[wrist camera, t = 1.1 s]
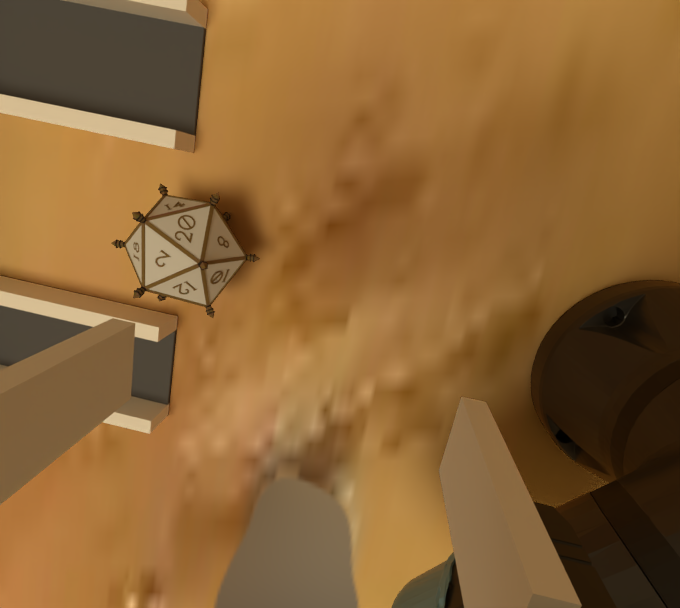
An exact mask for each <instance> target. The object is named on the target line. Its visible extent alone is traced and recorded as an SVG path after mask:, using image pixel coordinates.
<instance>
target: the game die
mask: <svg viewBox="0 0 680 608" xmlns="http://www.w3.org/2000/svg"><path fill="white" fill-rule="evenodd" d="M166 188H167V187H165V186H163V185H162V184H161V183H160V187H159V189H158V190H159V191H160V193H161V194H162V195H163V196H162V198H161V199H160V200H159V201H158V202H157V203H156V204H155V206H154V207H153V208H152V209H151V210H150V211H149V212H148V213H147V215H146V216H145V217H144V216H143V214H141V213H140V212H132V214H133V219H134V220H136V221H138V222H140V223H139V224H138V226H137V227H136V228H135V229H134V231H133V232H132V233H131V235H130V236H129V237H128V239H127V240H126V241H125V242H123V241H121V240H120V241H119V240H116V241H114V242H112V244H113V245H114V246H116V248H118V247H120V248H121V247H125V248H126V251H127V253H128V256H129V258H130V260H131V263H132V265H133V267H134V270H135V272H136V275H137V277H138V279H139V282H140V284H141V286H142V287H141V288H137V290H136V291H135V290H134V296H133V298H138V297H139V298H140V297H141V296H142V295H143V294H144V292H145V291H148V292H151V293H155V294H159V296H158V299H159V301H162V300H165V298H166V297H170V298H174V299H178V300H181V301H185V302H189V303H193V304H197V305H200V306H204V307H206V312H207V315H209V316H210V317H212V318H213V317H214V312H215V311H213V308H212V307H211V304H212V303H213V302H214V300H215V299H216V298H217V297H218V295H219V294H220V293H221V291H222V290H223V289H224V288H225V286H226V285H227V284H228V283H229V281H230V280H231V279H232V277H233V276H234V275H235V274H236V272H237V271H238V270H239V269H240V267H241V266H242V265H243V263H244V262H245V261H246V260H250V261H253V262H254V261H256V260H258V259H259V258H258V257H257V256H256V255H255V254H254V255H251V254H250V255H247V254H246V253H245V251H244V250H243V248H242V246H241V245H240V243H239V241H238V240H237V238H236V237H235V235H234V233H233V232H232V230H231V228H230V227H229V225H228V224H227V222H226V220H228V219H230V213H227V212H226V213H225V214H224V215H222V214H221V213H220V211H219V210H218V209H217V207H216V206H215V204H217V203H218V201H219V199H220V198H219V193H216V194H214V195H211V196H212V197H211V198H210V199H211V201H210V202H205V201H199V200H193V199H188V198H182V197H176V196H170V195H168V194H167V192H168V190H167V189H166Z"/></svg>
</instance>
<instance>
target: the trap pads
mask: <svg viewBox="0 0 680 608" xmlns="http://www.w3.org/2000/svg"><path fill="white" fill-rule="evenodd" d="M205 33H206V29H205V28H204V27H198V26H193V25H188V24H183V23H178V22H172V21H167V20H162V19H157V18H152V17H146V16H141V15H136V14H131V13H126V12H120V11H115V10H110V9H105V8H100V7H94V6H89V5H84V4H79V3H74V2H69V1H63V0H0V94H3V95H8V96H13V97H17V98H22V99H27V100H32V101H37V102H42V103H47V104H51V105H56V106H61V107H66V108H71V109H76V110H80V111H85V112H90V113H95V114H100V115H105V116H110V117H114V118H119V119H124V120H129V121H134V122H139V123H144V124H148V125H153V126H158V127H163V128H168V129H173V130H177V131H180V132H184V133H187V134H191V135H194V136H196V125H197V115H198V105H199V95H200V84H201V74H202V64H203V54H204V43H205ZM91 328H93V327H91V326H87V325H83V324H78V323H74V322H70V321H66V320H61V319H57V318H53V317H48V316H44V315H40V314H36V313H31V312H27V311H23V310H18V309H14V308H10V307H6V306H1V305H0V365H4V366H8V367H9V366H11V365H13V364H15V363H17V362H19V361H22V360H24V359H26V358H28V357H30V356H32V355H35V354H37V353H39V352H41V351H43V350H45V349H47V348H50V347H52V346H54V345H56V344H58V343H60V342H63V341H65V340H67V339H69V338H71V337H73V336H75V335H78V334H80V333H82V332H84V331H86V330H88V329H91ZM175 340H176V330H175V331H174V332H172V333H171V334H169V335H168V336H166V337H165V338H163V339H162V340H160V341H159V342H155V341H151V340H147V339H143V338H138V337H135V338H134V354H133V371H132V387H131V396H133V397H137V398H141V399H145V400H149V401H153V402H157V403H162V404H166V405H168V404H169V402H170V392H171V381H172V371H173V361H174V351H175Z"/></svg>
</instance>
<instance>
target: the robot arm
mask: <svg viewBox="0 0 680 608" xmlns="http://www.w3.org/2000/svg"><path fill="white" fill-rule="evenodd" d="M134 338H135V323H132V322H128V321H123V320H119V319H114V318H112V319H110V320H108V321H106V322H103V323H101V324H99V325H97V326H95V327H93V328H91V329H88V330H86V331H84V332H82V333H80V334H78V335H75V336H73V337H71V338H69V339H67V340H65V341H63V342H60V343H58V344H56V345H54V346H52V347H50V348H47V349H45V350H43V351H41V352H39V353H37V354H35V355H32V356H30V357H28V358H26V359H24V360H22V361H19V362H17V363H15V364H13V365H11V366H9V367H7V368H4V369H2V370H0V505H1V504H2V503H3V502H4V501H5V500H7V499H8V498H9V497H10V496H12V495H13V494H14V493H15V492H17V491H18V490H19V489H20V488H21V487H23V486H24V485H25V484H26V483H28V482H29V481H30V480H31V479H33V478H34V477H35V476H36V475H37V474H39V473H40V472H41V471H42V470H44V469H45V468H46V467H47V466H49V465H50V464H51V463H52V462H54V461H55V460H56V459H57V458H58V457H60V456H61V455H62V454H63V453H65V452H66V451H67V450H68V449H70V448H71V447H72V446H73V445H74V444H76V443H77V442H78V441H79V440H81V439H82V438H83V437H84V436H86V435H87V434H88V433H89V432H90V431H92V430H93V429H94V428H95V427H97V426H98V425H99V424H100V423H102V422H103V421H104V420H105V419H106V418H108V417H109V416H110V415H111V414H113V413H114V412H115V411H116V410H118V409H119V408H120V407H121V406H122V405H124V404H125V403H126V402H127V401H129V400H130V399H131V387H132V371H133V354H134ZM531 393H532V399H533V403H534V407H535V410H536V412H537V415H538V417H539V419H540V421H541V422H542V424H543V425H544V427H545V428H546V430H547V431H548V433H549V434H550V436H551V437H552V439H553V440H554V441H555V443H556V444H557V445H558V446H559V448H560V449H561V450H562V451H563V452H564V453H565V454H566V455H567V456H569V457H570V458H571V459H572V460H573V461H575V462H576V463H578V464H579V465H581V466H582V467H584V468H585V469H587V470H589V471H590V472H592V473H594V474H595V475H597V476H598V477H600V478H602V479H603V480H605V481H607V482H608V483H609V484H607V485H605V486H603V487H600V488H598V489H596V490H594V491H592V492H590V493H589V492H588V493H586V494H584V495H582V496H580V497H578V498H576V499H573V500H571V501H569V502H567V503H565V504H563V505H561V506H559V507H556V508H554V507H552V506H548V505H544V504H539V503H535V502H533V501H532V498H531V496H530V494H529V492H528V490H527V488H526V486H525V484H524V481H523V479H522V477H521V475H520V473H519V471H518V469H517V467H516V464H515V462H514V460H513V458H512V456H511V454H510V452H509V450H508V447H507V445H506V443H505V441H504V439H503V437H502V435H501V433H500V430H499V428H498V426H497V424H496V422H495V420H494V418H493V416H492V413H491V411H490V409H489V407H488V405H487V403H486V402H484V401H480V400H476V399H471V398H467V397H462V396H461V399H460V403H459V406H458V409H457V412H456V416H455V419H454V422H453V426H452V429H451V432H450V435H449V439H448V442H447V445H446V449H445V452H444V455H443V459H442V462H441V465H440V468H439V475H440V480H441V486H442V491H443V496H444V502H445V507H446V513H447V518H448V523H449V529H450V534H451V540H452V545H453V550H454V552H453V553H452V554H451V555H450V556H449V558H448V560H447V561H445V562H443V563H441V564H439V565H437V566H436V567H434V568H432V569H430V570H428V571H427V572H425V573H423V574H421V575H419V576H418V577H416V578H414V579H412V580H411V581H410V582H409V583H407V584H406V585H405V586H404V588H403V589H402V590H401V591H400V592H399V594H398V595H397V597H396V599H395V600H394V603H393V605H392V608H680V283H675V282H669V281H658V280H647V281H635V282H629V283H624V284H620V285H616V286H613V287H610V288H607V289H604V290H602V291H599V292H597V293H595V294H593V295H591V296H589V297H587V298H586V299H584V300H582V301H581V302H579V303H578V304H576V305H575V306H574V307H572V308H571V309H570V310H569V311H567V312H566V313H565V314H564V315H563V316H562V317H561V318H560V319H559V320H558V321H557V322H556V323H555V324H554V325H553V327H552V328H551V329H550V330H549V332H548V333H547V335H546V336H545V338H544V340H543V341H542V343H541V345H540V347H539V349H538V352H537V354H536V357H535V360H534V364H533V368H532V374H531Z"/></svg>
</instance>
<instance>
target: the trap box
mask: <svg viewBox="0 0 680 608" xmlns="http://www.w3.org/2000/svg"><path fill="white" fill-rule="evenodd" d="M63 1H69V2H74V3H79V4H84V5H89V6H94V7H100V8H105V9H110V10H115V11H120V12H126V13H131V14H136V15H141V16H146V17H152V18H157V19H162V20H167V21H172V22H178V23H183V24H188V25H193V26H198V27H204V28H205V29H206V23H207V13H208V9H207V8H206V7H205V6H204V5H203V4H202V3H201V2H200V1H199V0H63ZM0 113H4V114H9V115H14V116H19V117H24V118H28V119H33V120H38V121H43V122H48V123H52V124H57V125H62V126H67V127H72V128H76V129H81V130H86V131H91V132H95V133H100V134H105V135H110V136H115V137H119V138H124V139H129V140H134V141H139V142H143V143H148V144H153V145H158V146H163V147H167V148H172V149H177V150H182V151H187V152H192V153H194V146H195V136H194V135H191V134H187V133H184V132H180V131H177V130H173V129H168V128H163V127H158V126H153V125H148V124H144V123H139V122H134V121H129V120H124V119H119V118H114V117H110V116H105V115H100V114H95V113H90V112H85V111H80V110H76V109H71V108H66V107H61V106H56V105H51V104H47V103H42V102H37V101H32V100H27V99H22V98H17V97H13V96H8V95H3V94H0ZM0 305H1V306H6V307H10V308H14V309H18V310H23V311H27V312H31V313H36V314H40V315H44V316H48V317H53V318H57V319H61V320H66V321H70V322H74V323H78V324H83V325H87V326H91V327H95V326H97V325H99V324H101V323H103V322H106V321H108V320H110V319H112V318H114V319H119V320H123V321H128V322H132V323H135V337H138V338H143V339H147V340H151V341H155V342H159V341H160V340H162V339H163V338H165V337H166V336H168V335H169V334H171V333H172V332H174V331H175V330H177V320H178V316H174V315H170V314H166V313H161V312H157V311H153V310H148V309H144V308H140V307H135V306H131V305H127V304H122V303H118V302H113V301H109V300H105V299H100V298H96V297H92V296H87V295H83V294H79V293H74V292H70V291H66V290H61V289H57V288H53V287H48V286H44V285H39V284H35V283H31V282H26V281H22V280H18V279H13V278H9V277H5V276H0ZM7 367H8V366H4V365H0V370H2V369H4V368H7ZM168 412H169V404H168V405H166V404H162V403H157V402H153V401H149V400H145V399H141V398H137V397H133V396H131V399H130V400H129V401H127V402H126V403H125V404H124V405H122V406H121V407H120V408H119V409H118V410H116V411H115V412H114V413H113V414H111V415H110V416H109V417H108V418H106V419H105V420H104V421H103V422H104V423H108V424H112V425H116V426H120V427H124V428H128V429H132V430H136V431H141V432H145V433H149V434H150V433H151V432H152V431H153V430H154V429H155V428H156V427H157V426H158V425H159V424H160V423H161V422H162V421H163V420H164V419H165V418H166V417H167V416H168Z"/></svg>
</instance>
